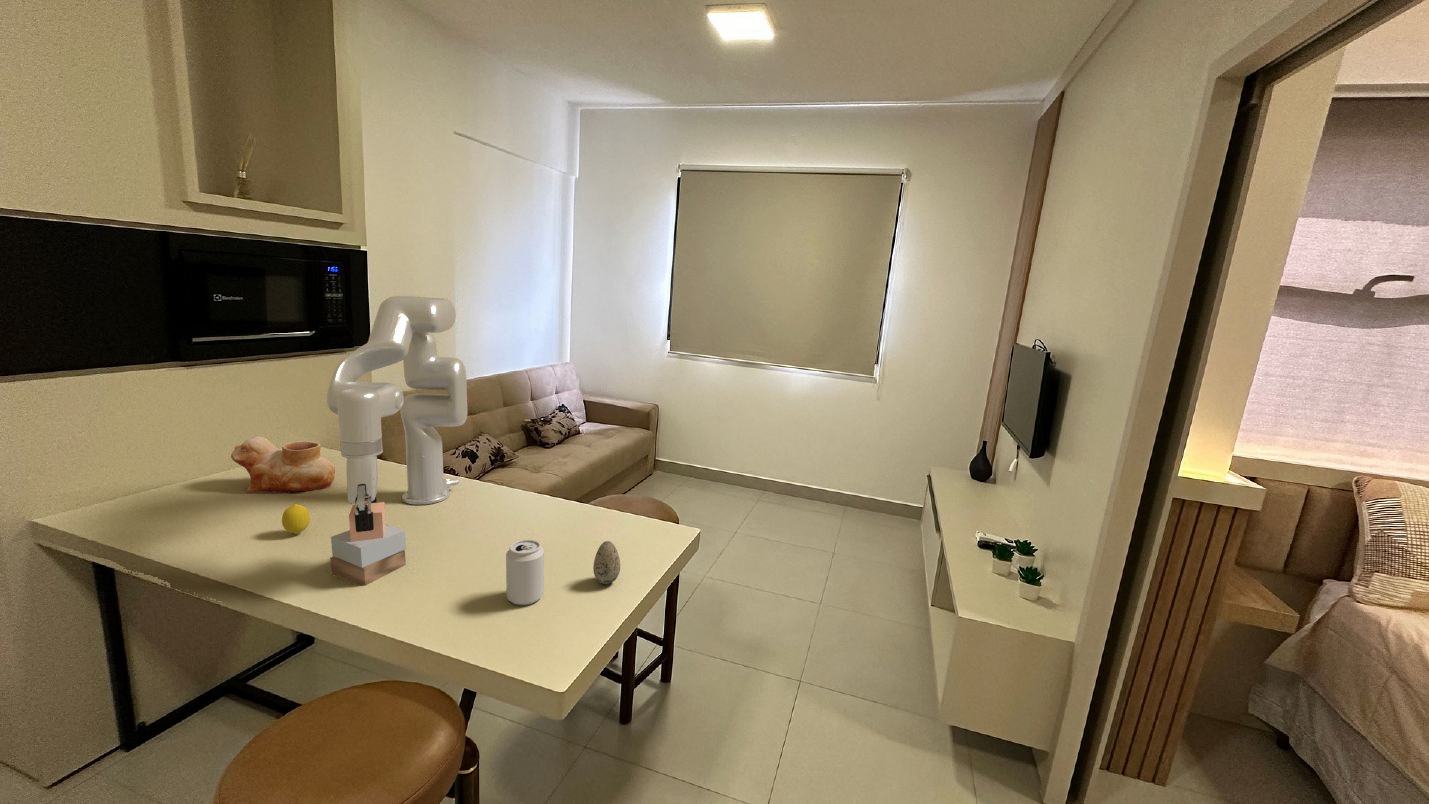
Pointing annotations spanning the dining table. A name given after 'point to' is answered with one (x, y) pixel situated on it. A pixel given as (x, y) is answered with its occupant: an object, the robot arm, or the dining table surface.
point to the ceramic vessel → (284, 466)
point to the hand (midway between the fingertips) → (367, 521)
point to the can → (525, 572)
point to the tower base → (367, 568)
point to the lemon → (295, 519)
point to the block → (378, 521)
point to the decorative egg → (606, 563)
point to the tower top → (368, 547)
